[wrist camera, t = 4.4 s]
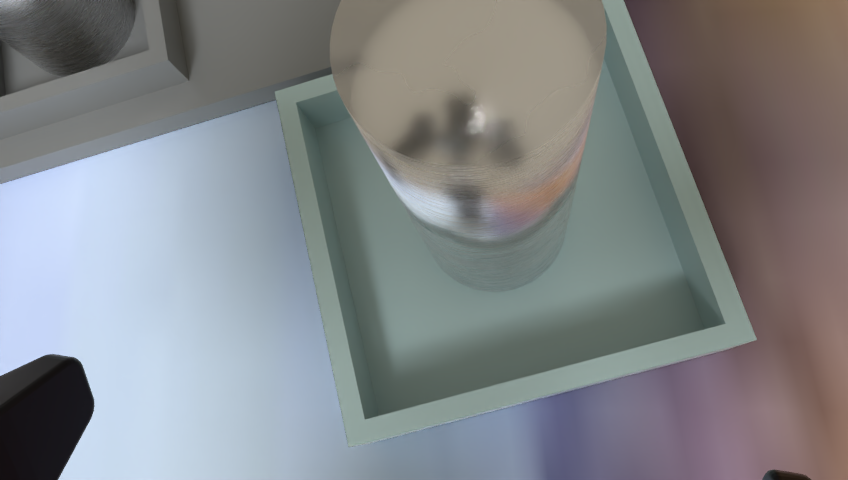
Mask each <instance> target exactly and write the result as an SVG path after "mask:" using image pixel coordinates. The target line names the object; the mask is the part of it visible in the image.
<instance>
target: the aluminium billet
mask: <svg viewBox="0 0 848 480" xmlns="http://www.w3.org/2000/svg"><path fill="white" fill-rule="evenodd" d="M606 34H607V25H606V17H605V10H604V6H603V3H602V0H341V2H340V4H339V7H338V9H337V11H336V14H335V18H334V22H333V25H332V30H331V38H330V63H331V69H332V75H333V78H334V82H335V85H336V88H337V91H338V93H339V95H340V97H341V99H342V101H343V103H344V105H345V107H346V109H347V110H348V112H349V114H350V115H351V117H352V119H353V121H354V122H355V124H356V126H357V127H358V129H359V131H360V133H361V134H362V136H363V138H364V139H365V141H366V143H367V145H368V146H369V148H370V150H371V151H372V153H373V155H374V157H375V158H376V160H377V162H378V164H379V165H380V167H381V169H382V170H383V172H384V174H385V176H386V177H387V179H388V181H389V182H390V184H391V186H392V188H393V189H394V191H395V193H396V194H397V196H398V198H399V200H400V201H401V203H402V205H403V206H404V208H405V210H406V212H407V213H408V215H409V217H410V218H411V220H412V222H413V224H414V225H415V227H416V229H417V230H418V232H419V234H420V236H421V237H422V239H423V241H424V242H425V244H426V246H427V248H428V249H429V251H430V253H431V254H432V256H433V258H434V259H435V261H436V262H437V264H438V265H439V266H440V267H441V269H442V270H443V271H444V272H445V273H446V274H448V275H449V276H450V277H451V278H452V279H454V280H456V281H457V282H459V283H461V284H463V285H465V286H467V287H470V288H473V289H476V290H481V291H488V292H500V291H508V290H513V289H516V288H519V287H522V286H524V285H526V284H528V283H530V282H532V281H534V280H535V279H537V278H538V277H540V276H541V275H542V274H543V273H544V272H545V271H546V270H547V269H548V268H549V267H550V266H551V265H552V263H553V262H554V261H555V259H556V257H557V256H558V254H559V252H560V250H561V248H562V245H563V242H564V239H565V234H566V230H567V225H568V220H569V216H570V211H571V207H572V202H573V197H574V193H575V188H576V184H577V179H578V174H579V170H580V165H581V161H582V156H583V151H584V147H585V142H586V138H587V133H588V128H589V124H590V119H591V115H592V110H593V105H594V101H595V96H596V92H597V87H598V83H599V78H600V73H601V69H602V64H603V60H604V54H605V48H606Z"/></svg>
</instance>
